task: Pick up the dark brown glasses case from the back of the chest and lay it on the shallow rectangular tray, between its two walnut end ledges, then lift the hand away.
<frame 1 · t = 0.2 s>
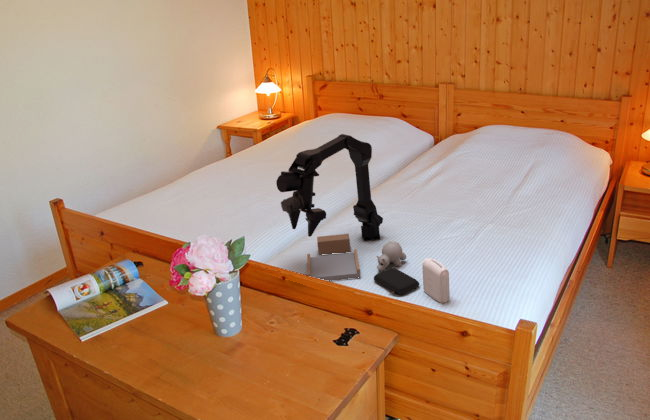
hand: (301, 232, 207), 15 cm above the nightstand, tool pointing down, fingers open, 9 cm apart
carrying case or bag: (395, 286, 199), on the nightstand
rhino figurine: (389, 266, 210), on the nightstand
photo printer: (436, 296, 190), on the nightstand
shallow rectangular tray: (333, 270, 211), on the nightstand
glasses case: (334, 251, 224), on the nightstand
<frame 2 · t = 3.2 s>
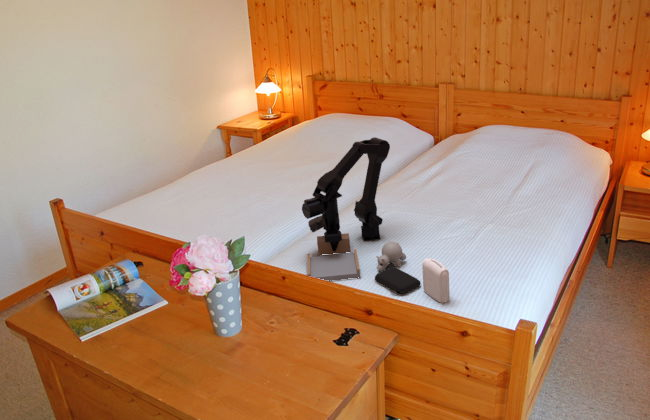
hand: (334, 247, 224), 2 cm above the nightstand, tool pointing down, fingers closed on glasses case, 4 cm apart
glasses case: (334, 251, 224), on the nightstand, touching gripper
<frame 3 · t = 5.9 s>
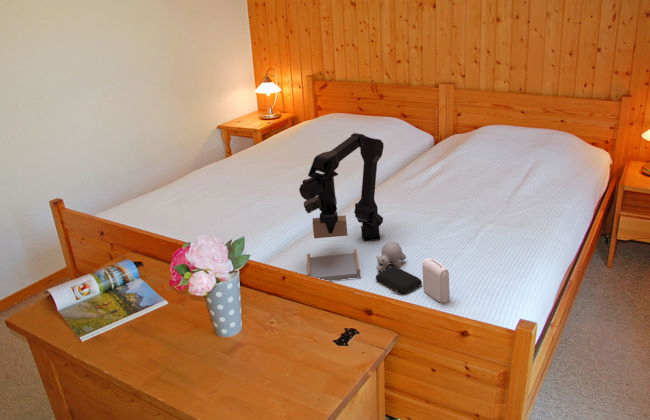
hand: (330, 230, 214), 12 cm above the nightstand, tool pointing down, fingers closed on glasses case, 4 cm apart
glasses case: (330, 234, 215), point 10 cm above the nightstand, touching gripper
when the fingers open (4 cm above the nightstand, at t = 8.6 s): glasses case stays where it is, resting on shallow rectangular tray.
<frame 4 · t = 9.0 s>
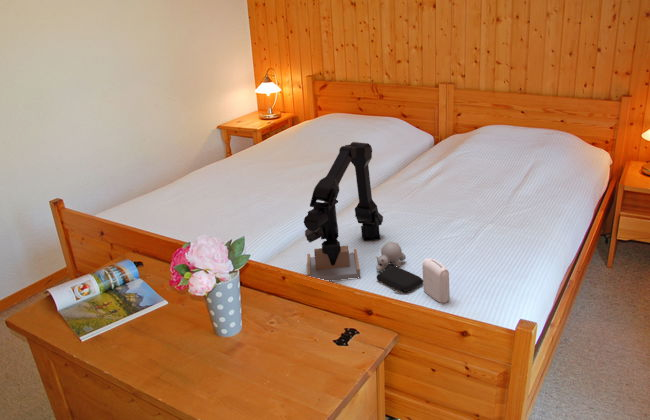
hand: (332, 258, 210), 4 cm above the nightstand, tool pointing down, fingers open, 9 cm apart
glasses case: (332, 265, 211), point 2 cm above the nightstand, touching shallow rectangular tray
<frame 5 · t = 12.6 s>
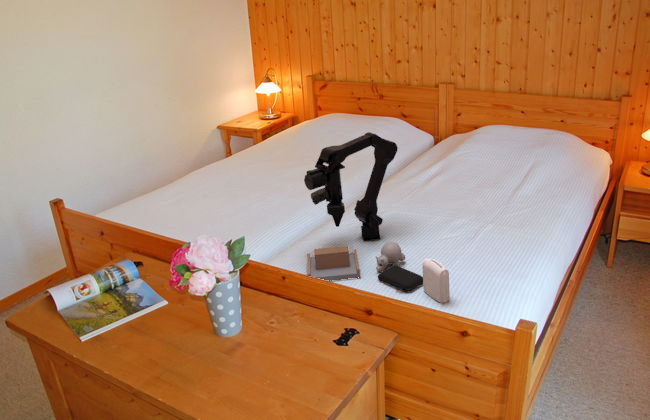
hand: (336, 221, 220), 12 cm above the nightstand, tool pointing down, fingers open, 9 cm apart
at the end: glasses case inside the target area on the shallow rectangular tray (0.0 cm from its centre), point 2.0 cm above the shallow rectangular tray's base; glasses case tilted 0°; the gripper is holding nothing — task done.
